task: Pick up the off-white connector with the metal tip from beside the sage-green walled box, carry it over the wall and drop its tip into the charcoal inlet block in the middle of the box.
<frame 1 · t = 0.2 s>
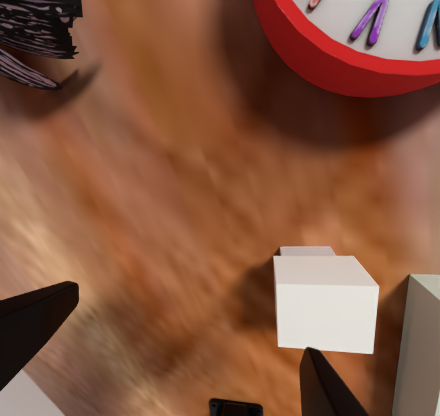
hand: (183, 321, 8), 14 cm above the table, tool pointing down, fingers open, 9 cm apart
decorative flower: (47, 8, 20), on the table
connector: (304, 263, 22), on the table
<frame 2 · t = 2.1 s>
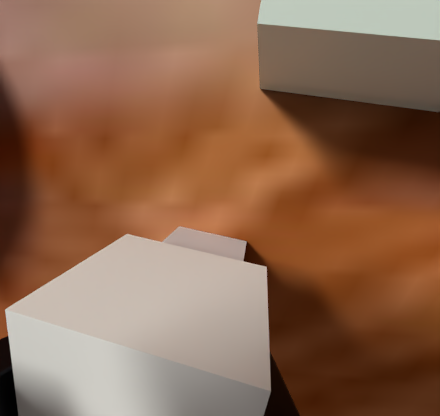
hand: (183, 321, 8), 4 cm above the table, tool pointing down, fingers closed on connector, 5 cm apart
connector: (205, 272, 12), on the table, touching gripper
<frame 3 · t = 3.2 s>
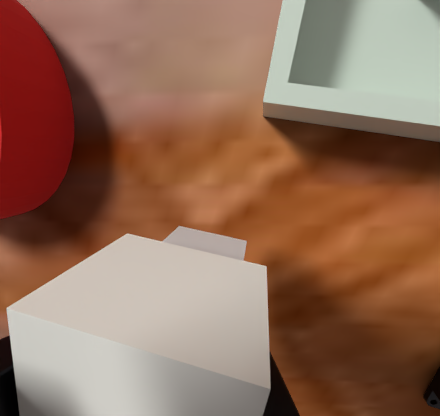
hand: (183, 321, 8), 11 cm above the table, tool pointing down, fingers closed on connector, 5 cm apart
connector: (206, 272, 12), point 7 cm above the table, touching gripper
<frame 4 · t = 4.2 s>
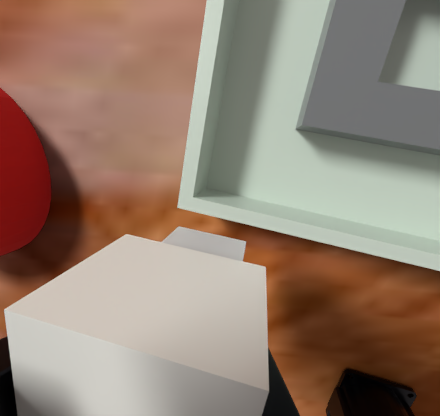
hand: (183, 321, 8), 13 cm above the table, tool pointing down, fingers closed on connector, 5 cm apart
connector: (205, 272, 12), point 9 cm above the table, touching gripper
walled box: (404, 56, 16), on the table
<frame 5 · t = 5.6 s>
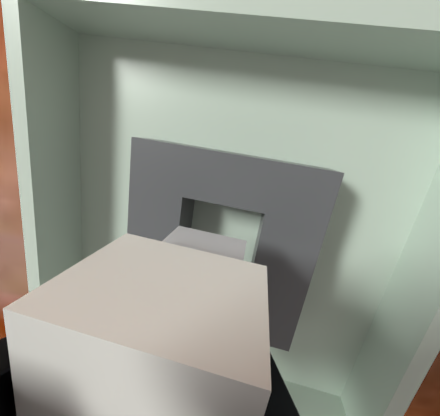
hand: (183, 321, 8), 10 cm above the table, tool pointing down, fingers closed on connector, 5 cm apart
connector: (205, 272, 12), point 6 cm above the table, touching gripper
walled box: (225, 229, 18), on the table
when the fingers open (5 cm above the table, at t = 6.7 s): connector stays where it is, resting on walled box.
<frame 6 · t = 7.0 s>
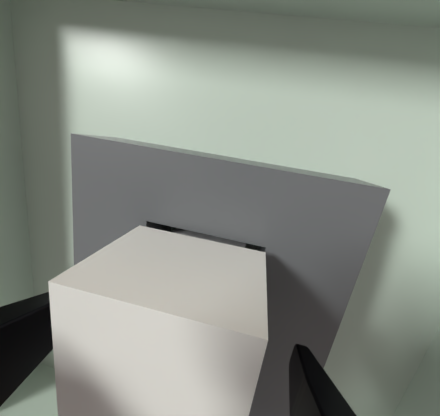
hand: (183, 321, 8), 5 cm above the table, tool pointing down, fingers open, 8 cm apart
connector: (209, 263, 13), point 1 cm above the table, touching walled box
walled box: (213, 255, 14), on the table
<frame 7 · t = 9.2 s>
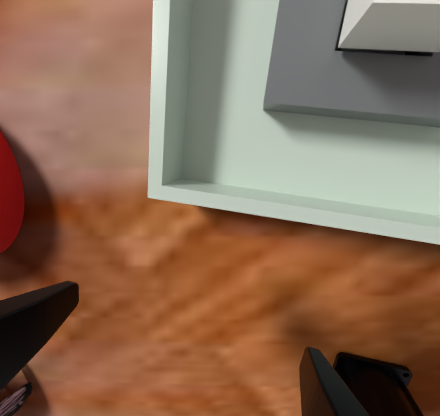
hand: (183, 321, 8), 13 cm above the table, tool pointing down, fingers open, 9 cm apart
connector: (372, 18, 14), point 1 cm above the table, touching walled box
walled box: (365, 26, 15), on the table
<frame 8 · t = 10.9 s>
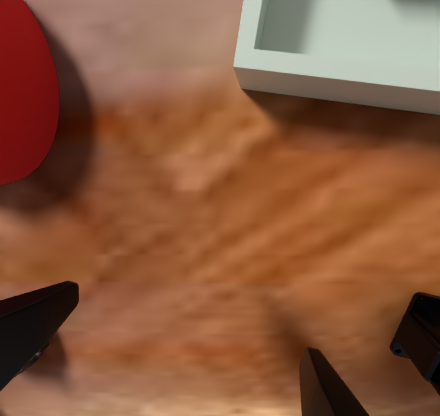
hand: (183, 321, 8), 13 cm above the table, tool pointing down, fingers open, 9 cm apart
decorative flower: (7, 317, 30), on the table
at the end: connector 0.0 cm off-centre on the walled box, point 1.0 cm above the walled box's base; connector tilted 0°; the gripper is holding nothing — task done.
